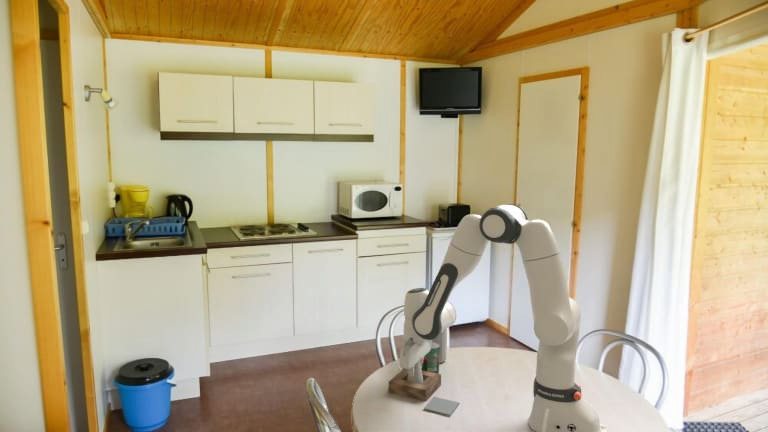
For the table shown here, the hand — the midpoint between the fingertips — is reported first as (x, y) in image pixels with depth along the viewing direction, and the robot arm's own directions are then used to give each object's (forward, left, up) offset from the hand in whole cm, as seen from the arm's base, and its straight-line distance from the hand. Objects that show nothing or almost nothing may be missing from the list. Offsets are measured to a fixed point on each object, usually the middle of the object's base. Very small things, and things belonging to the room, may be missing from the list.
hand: (415, 372), depth 177 cm
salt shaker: (0, 0, -6) cm, 6 cm away
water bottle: (+2, -28, -6) cm, 29 cm away
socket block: (0, 0, -6) cm, 6 cm away
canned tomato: (+1, -15, -6) cm, 16 cm away
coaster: (-13, +8, -6) cm, 16 cm away
